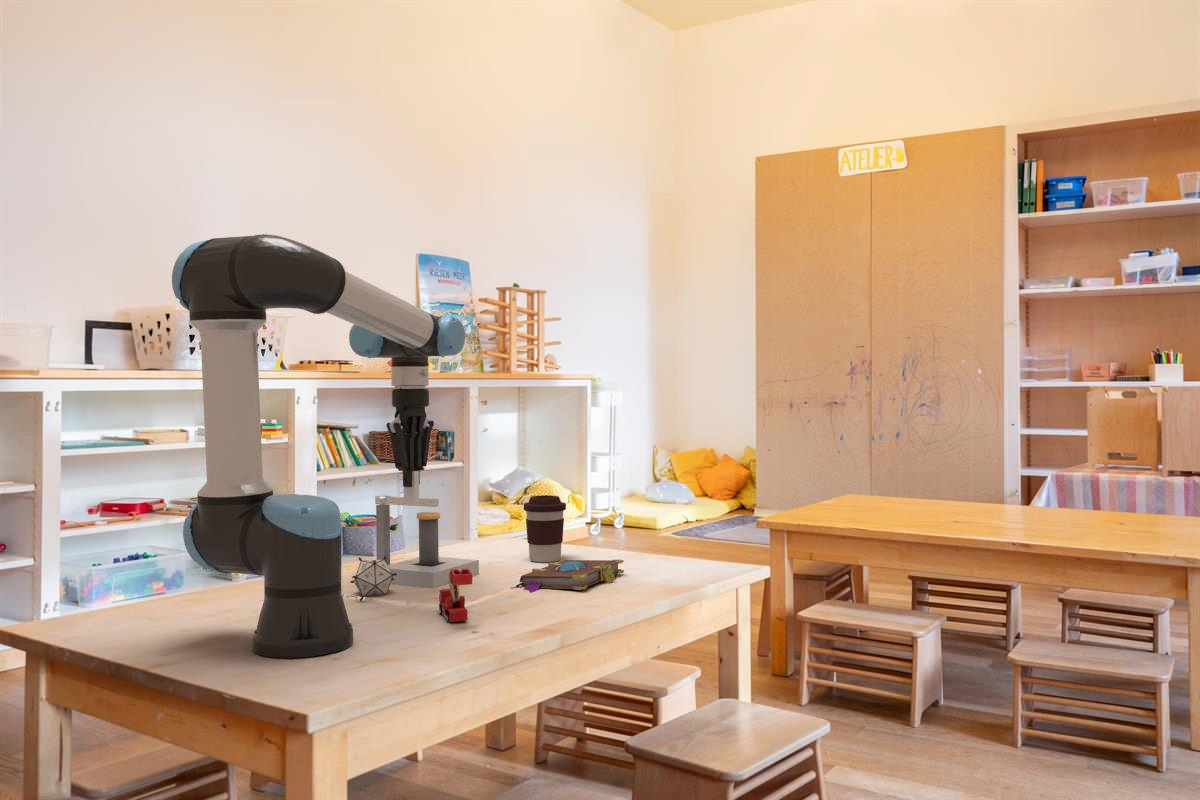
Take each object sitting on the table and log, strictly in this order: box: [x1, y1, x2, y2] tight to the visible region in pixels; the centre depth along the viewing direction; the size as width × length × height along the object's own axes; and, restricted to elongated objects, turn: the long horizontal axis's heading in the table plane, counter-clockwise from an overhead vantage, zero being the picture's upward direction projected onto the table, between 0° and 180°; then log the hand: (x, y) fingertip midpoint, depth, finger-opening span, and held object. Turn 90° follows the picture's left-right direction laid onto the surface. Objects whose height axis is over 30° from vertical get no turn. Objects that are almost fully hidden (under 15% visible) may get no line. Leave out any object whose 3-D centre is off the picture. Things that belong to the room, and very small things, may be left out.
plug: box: [416, 511, 441, 567], centre depth 206 cm, size 5×5×14 cm
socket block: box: [388, 556, 480, 589], centre depth 206 cm, size 16×14×4 cm
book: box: [519, 558, 625, 594], centre depth 206 cm, size 16×25×5 cm, turn 155°
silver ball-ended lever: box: [374, 495, 440, 508], centre depth 209 cm, size 3×16×2 cm, turn 63°
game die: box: [350, 556, 397, 602], centre depth 191 cm, size 9×8×10 cm
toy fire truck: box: [438, 568, 473, 623], centre depth 173 cm, size 3×14×10 cm, turn 21°
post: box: [375, 504, 391, 565], centre depth 212 cm, size 5×5×16 cm
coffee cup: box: [523, 494, 567, 564], centre depth 233 cm, size 10×10×15 cm
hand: (411, 502), depth 203 cm, fingers closed
